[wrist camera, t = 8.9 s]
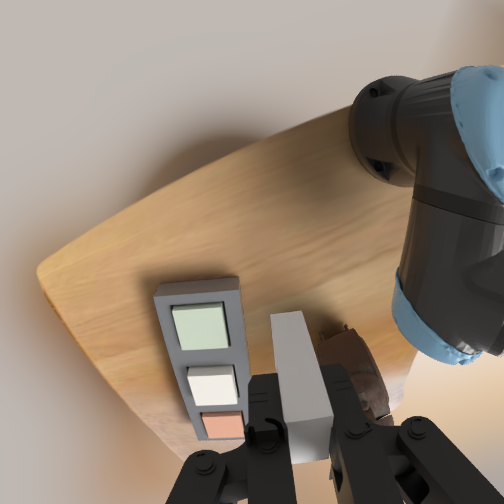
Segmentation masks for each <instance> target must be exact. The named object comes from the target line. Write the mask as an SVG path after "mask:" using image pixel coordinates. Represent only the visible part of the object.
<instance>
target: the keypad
mask: <svg viewBox="0 0 504 504" xmlns="http://www.w3.org/2000/svg"><path fill="white" fill-rule="evenodd" d="M153 299H154V303H155V307H156V310H157V314H158V318H159V322H160V325H161V329H162V333H163V336H164V340H165V343H166V346H167V350H168V353H169V357H170V360H171V363H172V366H173V369H174V373H175V376H176V379H177V382H178V385H179V388H180V391H181V394H182V397H183V400H184V403H185V405H186V408H187V411H188V414H189V417H190V419H191V422H192V425H193V427H194V430H195V433H196V435H197V438H198V440H236V439H245V437H236V438H209V437H208V434H207V431H206V428H205V425H204V422H203V419H202V413H203V412H224V411H242V414H243V419H244V425H245V426H246V424H247V423H248V383H249V381H250V380H251V378H252V375H251V367H250V360H249V352H248V344H247V337H246V329H245V321H244V313H243V305H242V297H241V289H240V280H239V277H231V278H220V279H209V280H198V281H186V282H174V283H162V284H160V285H159V287H158V289H157V290H156V292H155V294H154V296H153ZM219 301H223V302H224V309H225V315H226V322H227V328H228V334H229V338H228V348H217V349H200V350H182V348H181V345H180V341H179V337H178V333H177V329H176V325H175V321H174V317H173V313H172V310H173V307H174V305H180V304H194V303H207V302H219ZM230 364H233V369H234V375H235V380H236V386H237V404H229V405H204V406H196V403H195V400H194V397H193V394H192V391H191V387H190V384H189V381H188V378H187V375H188V370H189V367H191V366H213V365H230Z"/></svg>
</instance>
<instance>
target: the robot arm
mask: <svg viewBox="0 0 504 504" xmlns="http://www.w3.org/2000/svg"><path fill="white" fill-rule="evenodd" d="M349 134H350V140H351V143H352V146H353V149H354V152H355V154H356V156H357V157H358V159H359V161H360V162H361V164H362V165H363V166H364V167H365V169H366V170H367V171H368V172H369V173H371V174H372V175H373V176H374V177H376V178H377V179H379V180H381V181H383V182H385V183H388V184H391V185H395V186H399V187H414V190H413V196H412V203H411V209H410V215H409V221H408V226H407V232H406V237H405V242H404V247H403V252H402V256H401V261H400V265H399V267H398V268H397V270H396V275H395V280H396V284H395V289H394V294H393V299H392V306H391V307H392V315H393V318H394V321H395V323H396V324H397V325H398V329H399V331H400V332H401V333H402V335H403V336H404V337H405V338H406V339H407V340H408V341H409V342H410V343H411V344H412V345H413V346H414V347H415V348H417V349H418V350H419V351H421V352H422V353H424V354H425V355H427V356H429V357H431V358H433V359H435V360H437V361H440V362H443V363H446V364H451V365H456V364H457V363H460V364H461V365H465V364H469V363H471V362H473V361H474V360H475V359H476V358H478V357H479V356H480V355H481V354H482V352H483V351H485V352H487V353H490V354H493V355H495V356H497V357H502V356H503V355H504V68H503V67H500V66H493V65H490V66H478V67H474V66H466V67H462V68H460V69H459V70H456V71H453V72H449V73H445V74H441V75H438V76H434V77H431V78H427V79H423V80H420V81H419V80H416V79H412V78H409V77H404V76H388V77H384V78H381V79H378V80H376V81H374V82H372V83H370V84H368V85H367V86H366V87H364V88H363V89H362V90H361V91H360V93H359V94H358V95H357V97H356V98H355V100H354V103H353V105H352V108H351V111H350V116H349ZM270 318H271V328H272V339H273V349H274V359H275V367H276V373H271V374H262V375H253V376H252V378H251V380H250V381H249V383H248V423H247V424H246V426H245V428H244V432H243V433H244V437H245V442H244V443H243V444H242V445H241V446H239V447H238V448H236V449H234V450H231V451H228V452H225V453H222V454H219V453H218V452H215V451H212V450H201V451H197V452H195V453H193V454H191V455H190V456H189V457H188V458H187V460H186V461H185V463H184V465H183V467H182V469H181V472H180V474H179V476H178V478H177V480H176V482H175V484H174V487H173V489H172V491H171V493H170V495H169V497H168V499H167V501H166V503H165V504H237V502H238V501H240V500H243V499H246V498H248V504H297V501H296V493H295V485H294V477H293V470H292V464H298V463H305V462H311V461H318V460H323V459H328V458H329V454H330V458H331V462H332V464H331V469H330V478H329V479H330V480H331V479H332V478H333V483H334V487H335V492H336V496H337V501H338V504H404V502H405V503H406V504H504V497H503V496H502V495H501V494H500V493H499V492H498V491H497V490H496V489H495V488H494V486H493V485H492V484H491V483H490V482H489V481H488V480H487V479H486V478H485V477H484V476H483V475H482V474H481V473H480V471H478V469H477V468H476V467H475V466H474V465H473V464H472V463H471V462H470V461H469V460H468V459H467V458H466V457H465V455H463V453H462V452H461V451H460V450H459V449H458V448H457V447H456V446H455V445H454V444H453V443H452V442H451V441H450V440H449V439H448V438H447V437H446V436H445V434H444V433H443V432H442V431H441V430H440V429H439V428H438V427H437V426H436V425H435V424H434V423H433V422H432V421H431V420H429V419H428V418H425V417H422V416H413V417H410V418H407V419H406V420H405V421H404V422H402V424H401V426H384V425H378V424H375V423H373V422H372V421H371V420H369V419H368V418H367V417H366V415H365V413H364V411H363V408H362V406H361V403H360V401H359V398H358V396H357V393H356V391H355V388H354V386H353V383H352V381H351V378H350V376H349V373H348V371H347V369H345V368H344V367H343V366H342V365H341V364H340V363H336V364H330V365H324V366H319V364H318V361H317V358H316V355H315V352H314V348H313V345H312V342H311V339H310V335H309V332H308V329H307V326H306V323H305V320H304V317H303V313H302V311H294V312H286V313H278V314H270ZM403 500H404V502H403Z"/></svg>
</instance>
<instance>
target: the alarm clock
mask: <svg viewBox="0 0 504 504" xmlns="http://www.w3.org/2000/svg"><path fill="white" fill-rule="evenodd" d="M347 327H348V326H347V325H344V328H345V332H342V333H339V334H337V335H335V336H333V337H331V338H330V339H328V340H326V339H325V337H324V336H323V332H320V333H319V335H320V336H321V340H322V343H321V344H319V345H318V347H319V349H318V356H319V360H320V366H324V365H330V364H336V363H340V364H341V365H342V366H343V367H344V368H345V369H347V371H348V373H349V376H350V378H351V381H352V383H353V386H354V388H355V391H356V393H357V396H358V398H359V401H360V403H361V406H362V408H363V411H364V413H365V415H366V417H367V418H368V419H369V420H371V421H372V422H373V423H375V424H378V425H384V426H394V421H393V417H392V415H389V416H386V415H388V414H390V408H389V405H388V403H389V397H388V393H387V390H386V387H385V384H384V382H383V379H382V377H381V374H380V372H379V369H378V367H377V365H376V363H375V360H374V358H373V356H372V354H371V352H370V350H369V348H368V347H367V345H366V343H365V341H364V340H363V339H362V338H361V337H360V336H358V334H357V332H356V331H355V329H354V328H352V329H350V330H349V329H348V328H347ZM384 416H386V417H384ZM382 417H384V418H382ZM381 418H382V419H381ZM379 419H380V420H379Z"/></svg>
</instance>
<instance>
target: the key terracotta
mask: <svg viewBox="0 0 504 504" xmlns="http://www.w3.org/2000/svg"><path fill="white" fill-rule="evenodd" d="M202 419H203V422H204V425H205V428H206V431H207V434H208V437H209V438H236V437H244V433H243V432H244V428H245V425H244V419H243V414H242V411H224V412H203V413H202Z"/></svg>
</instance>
